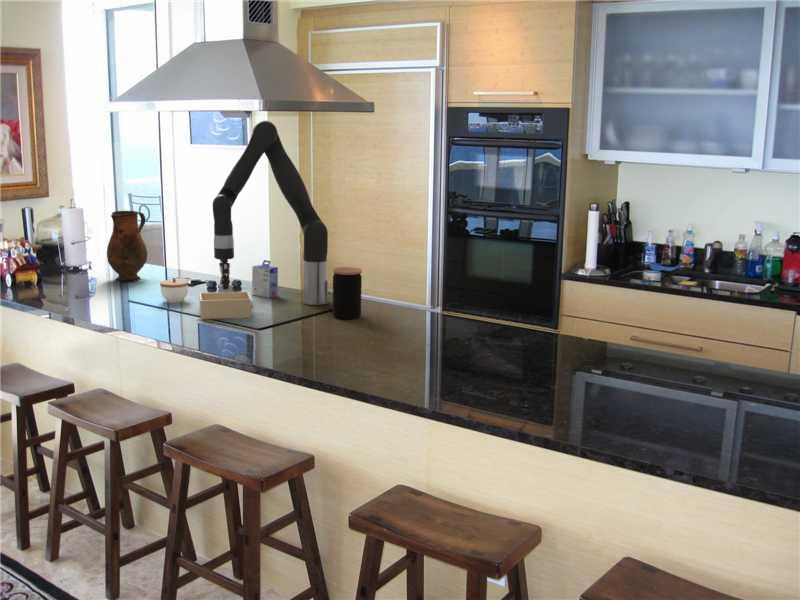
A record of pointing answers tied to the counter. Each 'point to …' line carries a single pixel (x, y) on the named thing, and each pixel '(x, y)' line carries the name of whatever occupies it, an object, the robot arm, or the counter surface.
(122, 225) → the pitcher
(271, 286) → the ink cartridge box
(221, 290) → the lid
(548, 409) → the counter surface
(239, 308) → the base
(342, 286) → the coffee jar
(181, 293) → the lidded jar
